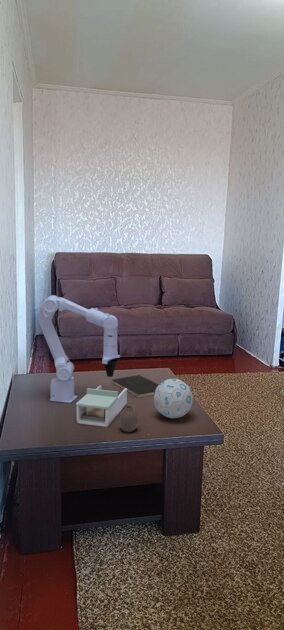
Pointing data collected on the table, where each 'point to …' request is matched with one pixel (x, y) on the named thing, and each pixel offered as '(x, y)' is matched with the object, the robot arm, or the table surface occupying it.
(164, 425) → the table surface
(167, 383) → the puzzle ball
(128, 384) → the hardcover book
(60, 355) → the robot arm
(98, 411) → the tan rectangular block
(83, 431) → the table surface
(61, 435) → the table surface
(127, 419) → the vase
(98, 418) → the housing
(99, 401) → the lid
